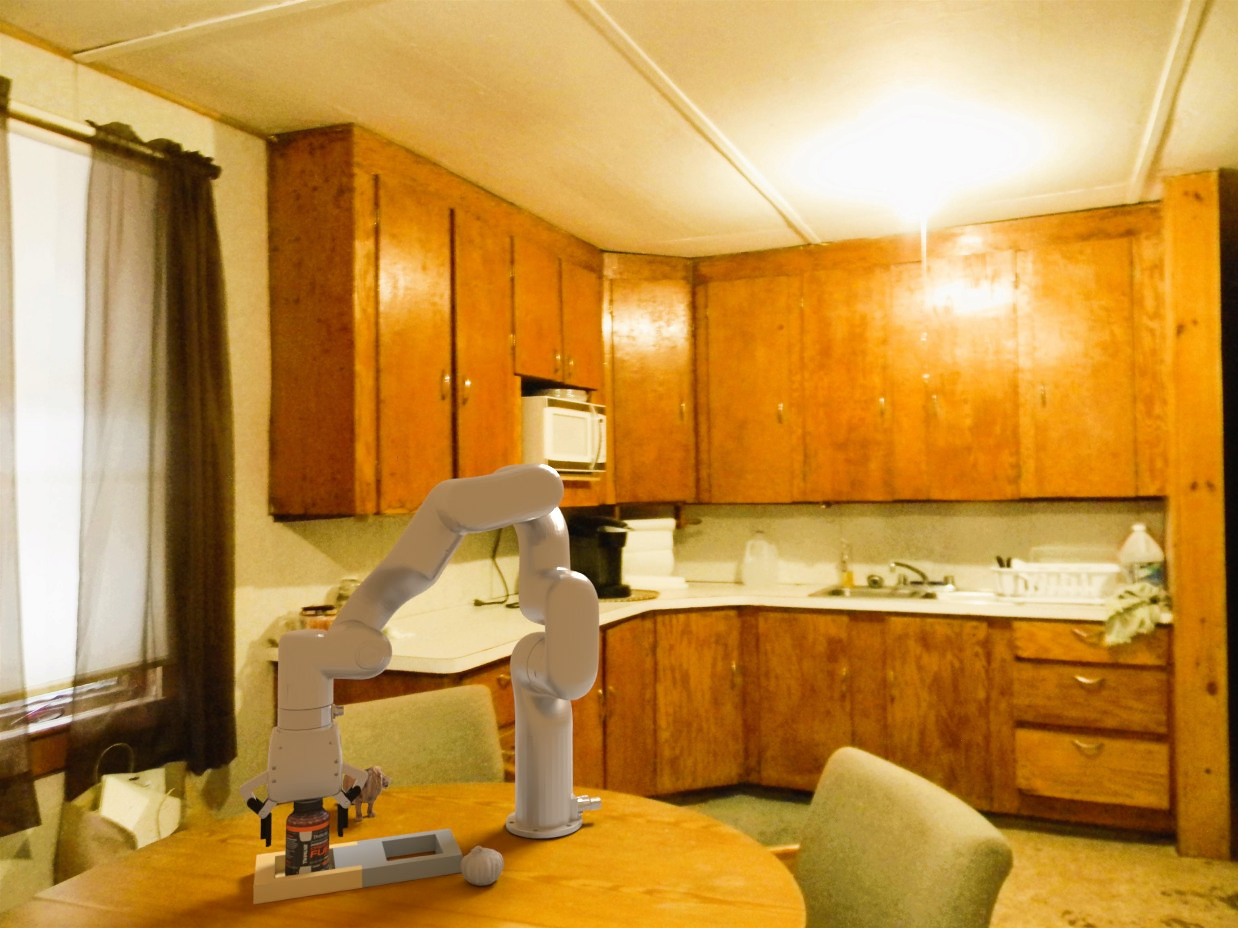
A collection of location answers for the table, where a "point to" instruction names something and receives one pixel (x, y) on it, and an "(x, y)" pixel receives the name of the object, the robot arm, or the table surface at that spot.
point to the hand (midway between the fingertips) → (304, 838)
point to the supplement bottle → (307, 838)
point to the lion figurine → (368, 789)
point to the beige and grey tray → (360, 866)
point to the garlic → (482, 866)
